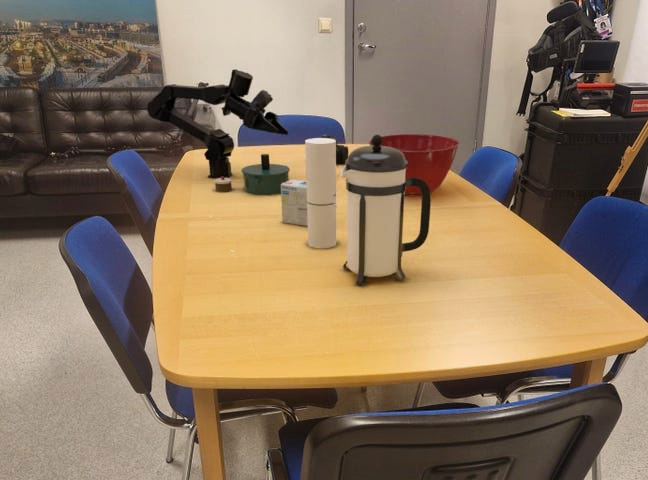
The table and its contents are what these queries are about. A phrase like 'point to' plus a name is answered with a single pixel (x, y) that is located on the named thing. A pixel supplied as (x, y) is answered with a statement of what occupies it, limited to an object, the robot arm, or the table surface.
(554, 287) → the table surface
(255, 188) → the pot
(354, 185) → the coffee press
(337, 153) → the film camera
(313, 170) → the cylindrical container
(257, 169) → the pot lid
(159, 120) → the robot arm
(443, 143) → the mixing bowl
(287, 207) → the light bulb box
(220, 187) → the cake
